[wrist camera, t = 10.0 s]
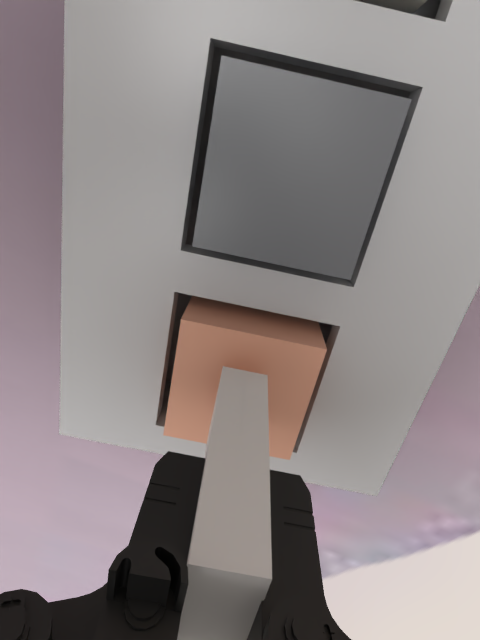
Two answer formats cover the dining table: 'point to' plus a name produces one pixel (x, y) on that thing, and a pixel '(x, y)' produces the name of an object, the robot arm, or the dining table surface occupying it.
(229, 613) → the robot arm
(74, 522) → the dining table surface
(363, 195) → the charcoal key
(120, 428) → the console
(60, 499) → the dining table surface
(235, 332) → the terracotta key
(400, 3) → the ivory key
